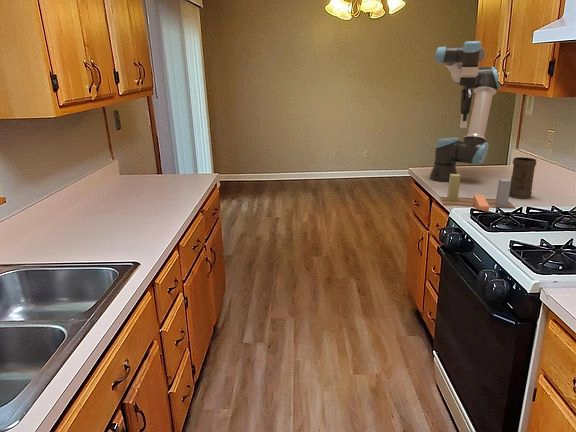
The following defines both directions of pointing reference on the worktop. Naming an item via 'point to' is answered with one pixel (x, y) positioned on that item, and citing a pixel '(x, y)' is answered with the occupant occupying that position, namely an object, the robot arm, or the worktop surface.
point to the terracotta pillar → (480, 203)
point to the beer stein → (522, 178)
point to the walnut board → (471, 203)
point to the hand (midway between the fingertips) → (463, 127)
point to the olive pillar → (453, 187)
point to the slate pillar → (503, 192)
